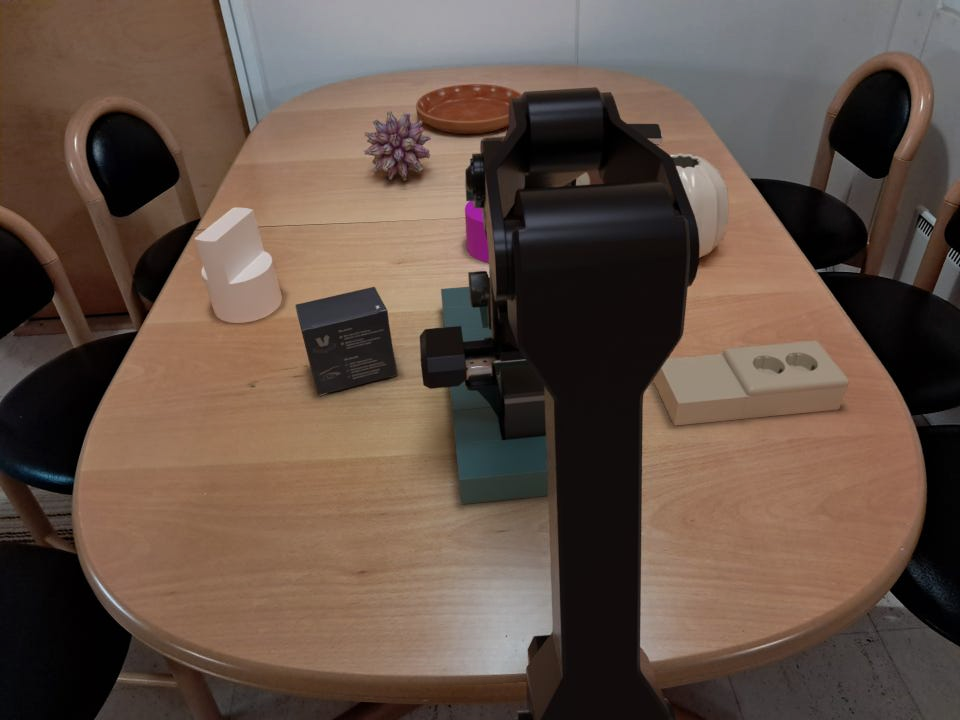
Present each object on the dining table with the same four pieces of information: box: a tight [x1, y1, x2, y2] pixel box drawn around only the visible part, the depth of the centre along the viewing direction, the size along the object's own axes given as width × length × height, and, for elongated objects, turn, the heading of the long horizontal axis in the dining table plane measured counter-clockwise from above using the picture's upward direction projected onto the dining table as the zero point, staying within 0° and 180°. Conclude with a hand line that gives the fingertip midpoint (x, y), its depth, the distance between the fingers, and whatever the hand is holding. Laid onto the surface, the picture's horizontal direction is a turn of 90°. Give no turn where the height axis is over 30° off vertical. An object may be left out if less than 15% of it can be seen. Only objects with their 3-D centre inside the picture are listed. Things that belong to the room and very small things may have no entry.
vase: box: [669, 152, 730, 259], centre depth 97 cm, size 14×14×13 cm
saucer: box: [415, 83, 523, 135], centre depth 145 cm, size 23×23×4 cm
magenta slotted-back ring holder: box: [464, 201, 489, 263], centre depth 104 cm, size 16×10×6 cm, turn 177°
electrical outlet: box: [653, 340, 850, 427], centre depth 74 cm, size 7×4×18 cm
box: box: [295, 286, 398, 397], centre depth 78 cm, size 9×6×10 cm, turn 110°
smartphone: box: [627, 123, 664, 145], centre depth 135 cm, size 8×1×15 cm
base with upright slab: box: [194, 207, 283, 324], centre depth 90 cm, size 9×9×12 cm
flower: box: [363, 109, 432, 182], centre depth 121 cm, size 12×12×12 cm
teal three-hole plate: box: [440, 286, 548, 505], centre depth 77 cm, size 32×14×4 cm, turn 5°
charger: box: [498, 366, 546, 440], centre depth 68 cm, size 4×4×7 cm
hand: (523, 416), depth 68 cm, fingers closed on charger, 4 cm apart
